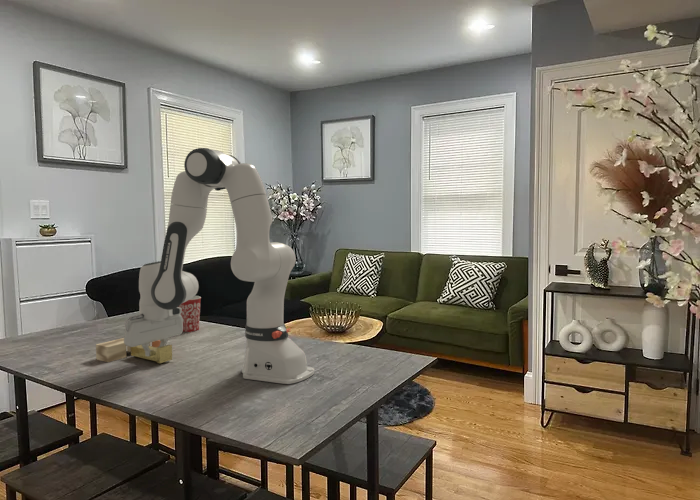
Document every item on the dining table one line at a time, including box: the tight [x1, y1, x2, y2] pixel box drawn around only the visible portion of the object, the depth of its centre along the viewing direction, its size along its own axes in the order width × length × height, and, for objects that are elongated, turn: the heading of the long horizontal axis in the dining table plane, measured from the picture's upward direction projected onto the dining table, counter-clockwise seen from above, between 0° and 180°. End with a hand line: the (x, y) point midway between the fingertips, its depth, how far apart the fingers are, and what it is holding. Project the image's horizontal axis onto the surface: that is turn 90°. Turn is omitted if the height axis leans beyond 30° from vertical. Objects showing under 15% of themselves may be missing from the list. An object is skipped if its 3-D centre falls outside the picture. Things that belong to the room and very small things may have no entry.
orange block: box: [151, 340, 161, 348], centre depth 169 cm, size 4×2×4 cm, turn 60°
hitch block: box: [95, 337, 131, 363], centre depth 165 cm, size 6×16×5 cm, turn 150°
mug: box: [178, 295, 202, 333], centre depth 202 cm, size 13×9×14 cm
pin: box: [130, 344, 173, 364], centre depth 159 cm, size 15×5×5 cm, turn 60°
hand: (155, 354), depth 158 cm, fingers closed on pin, 3 cm apart
